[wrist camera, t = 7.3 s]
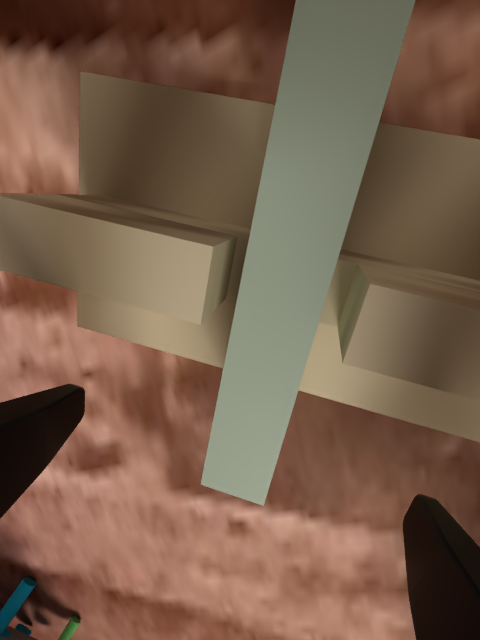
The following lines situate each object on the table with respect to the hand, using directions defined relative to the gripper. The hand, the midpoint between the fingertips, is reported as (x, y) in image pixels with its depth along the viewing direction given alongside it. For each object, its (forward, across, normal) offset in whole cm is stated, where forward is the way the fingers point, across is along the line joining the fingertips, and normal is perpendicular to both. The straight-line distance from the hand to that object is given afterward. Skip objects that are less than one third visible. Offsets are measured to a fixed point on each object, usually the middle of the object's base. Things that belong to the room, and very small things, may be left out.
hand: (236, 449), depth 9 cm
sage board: (+6, 0, -4) cm, 7 cm away
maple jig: (+6, 0, -4) cm, 7 cm away
